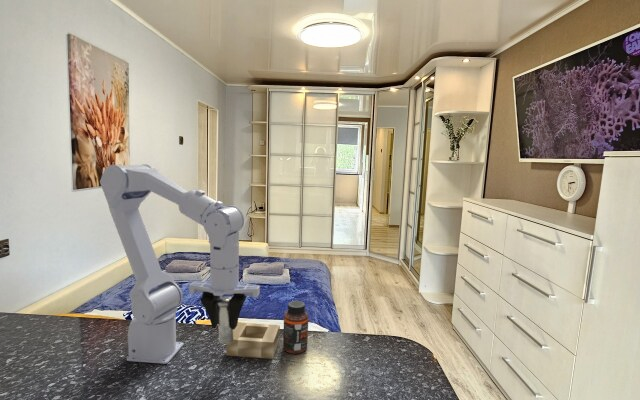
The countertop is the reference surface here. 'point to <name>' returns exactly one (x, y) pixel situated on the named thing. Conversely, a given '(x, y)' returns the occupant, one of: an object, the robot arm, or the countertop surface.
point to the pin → (224, 320)
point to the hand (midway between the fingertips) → (224, 326)
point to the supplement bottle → (295, 328)
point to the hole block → (254, 340)
